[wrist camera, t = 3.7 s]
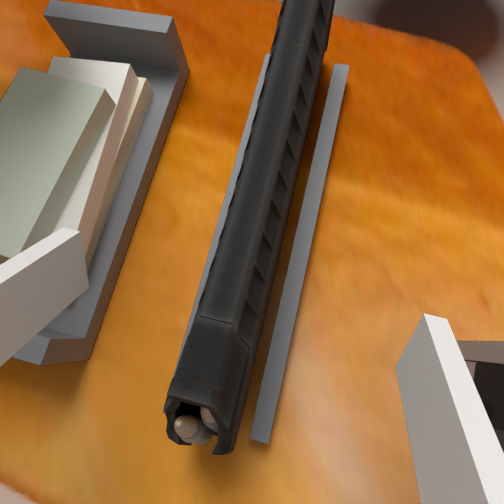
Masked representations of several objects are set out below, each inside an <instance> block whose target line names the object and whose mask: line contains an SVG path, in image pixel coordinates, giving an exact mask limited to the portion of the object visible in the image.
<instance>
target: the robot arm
mask: <svg viewBox="0 0 504 504" xmlns="http://www.w3.org/2000/svg"><path fill="white" fill-rule="evenodd" d="M88 287H89V282H88V276H87V269H86V263H85V257H84V251H83V245H82V238H81V232H80V231H76V230H72V229H68V228H64V227H63V228H61V229H59V230H58V231H56V232H54V233H53V234H51V235H49V236H48V237H46V238H44V239H43V240H41V241H39V242H38V243H36V244H34V245H33V246H31V247H29V248H28V249H26V250H24V251H23V252H21V253H19V254H18V255H16V256H14V257H13V258H11V259H9V260H8V261H6V262H4V263H3V264H1V265H0V367H1V366H2V365H3V364H4V363H5V362H6V361H7V360H8V359H10V358H11V357H12V356H13V355H14V354H15V353H16V352H17V351H18V350H20V349H21V348H22V347H23V346H24V345H25V344H26V343H27V342H28V341H30V340H31V339H32V338H33V337H34V336H35V335H36V334H37V333H38V332H40V331H41V330H42V329H43V328H44V327H45V326H46V325H47V324H48V323H50V322H51V321H52V320H53V319H54V318H55V317H56V316H57V315H58V314H60V313H61V312H62V311H63V310H64V309H65V308H66V307H67V306H68V305H70V304H71V303H72V302H73V301H74V300H75V299H76V298H77V297H78V296H80V295H81V294H82V293H83V292H84V291H85V290H86V289H87V288H88ZM396 372H397V377H398V383H399V388H400V393H401V398H402V404H403V409H404V414H405V420H406V425H407V430H408V436H409V441H410V446H411V452H412V457H413V462H414V468H415V473H416V478H417V484H418V489H419V494H420V500H421V504H504V431H501V430H497V429H494V428H493V427H492V424H491V422H490V420H489V417H488V415H487V412H486V410H485V408H484V405H483V403H482V401H481V398H480V396H479V394H478V391H477V389H476V386H475V384H474V382H473V379H472V377H471V375H470V372H469V370H468V368H467V365H466V363H465V361H464V358H463V356H462V353H461V351H460V349H459V346H458V344H457V342H456V339H455V337H454V335H453V332H452V330H451V327H450V325H449V323H448V320H447V319H445V318H441V317H437V316H433V315H428V314H423V316H422V318H421V320H420V321H419V323H418V325H417V327H416V329H415V331H414V333H413V335H412V337H411V338H410V340H409V342H408V344H407V346H406V348H405V350H404V352H403V353H402V355H401V357H400V359H399V361H398V363H397V365H396Z"/></svg>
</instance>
